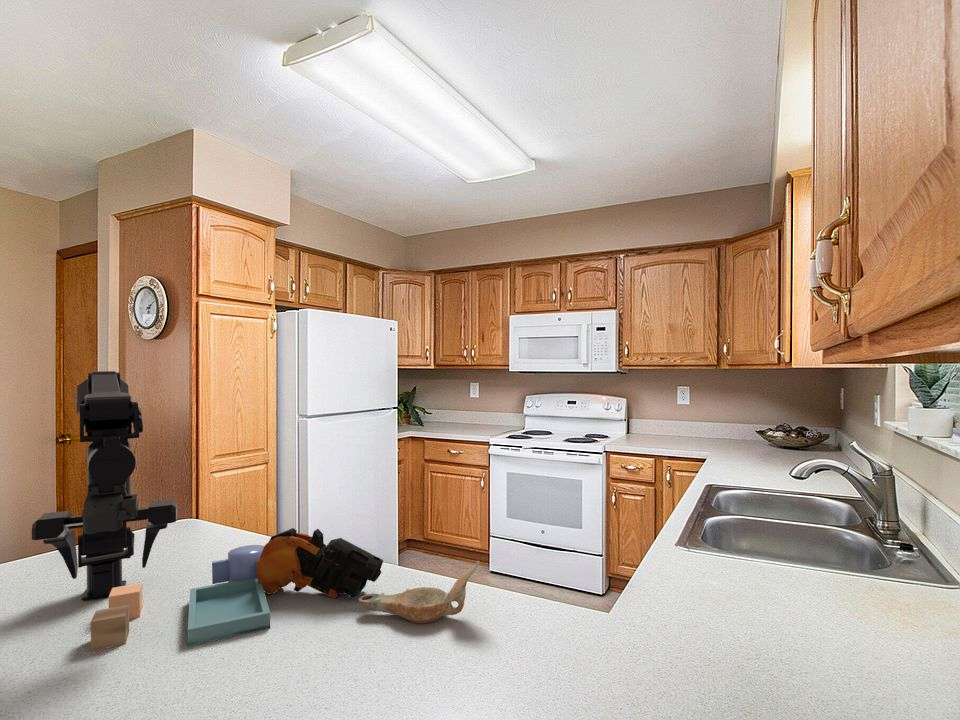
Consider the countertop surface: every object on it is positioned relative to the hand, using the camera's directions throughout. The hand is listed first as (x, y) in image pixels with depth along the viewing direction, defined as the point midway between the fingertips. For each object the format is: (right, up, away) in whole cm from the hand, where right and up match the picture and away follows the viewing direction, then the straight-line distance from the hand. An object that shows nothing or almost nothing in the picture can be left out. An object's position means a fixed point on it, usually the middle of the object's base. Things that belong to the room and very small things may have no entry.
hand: (110, 572), depth 87 cm
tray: (+15, -11, +8) cm, 20 cm away
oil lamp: (+48, -10, +6) cm, 50 cm away
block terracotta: (-3, -11, +9) cm, 15 cm away
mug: (+12, -11, +20) cm, 26 cm away
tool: (+29, -11, +16) cm, 35 cm away
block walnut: (0, -11, 0) cm, 11 cm away
